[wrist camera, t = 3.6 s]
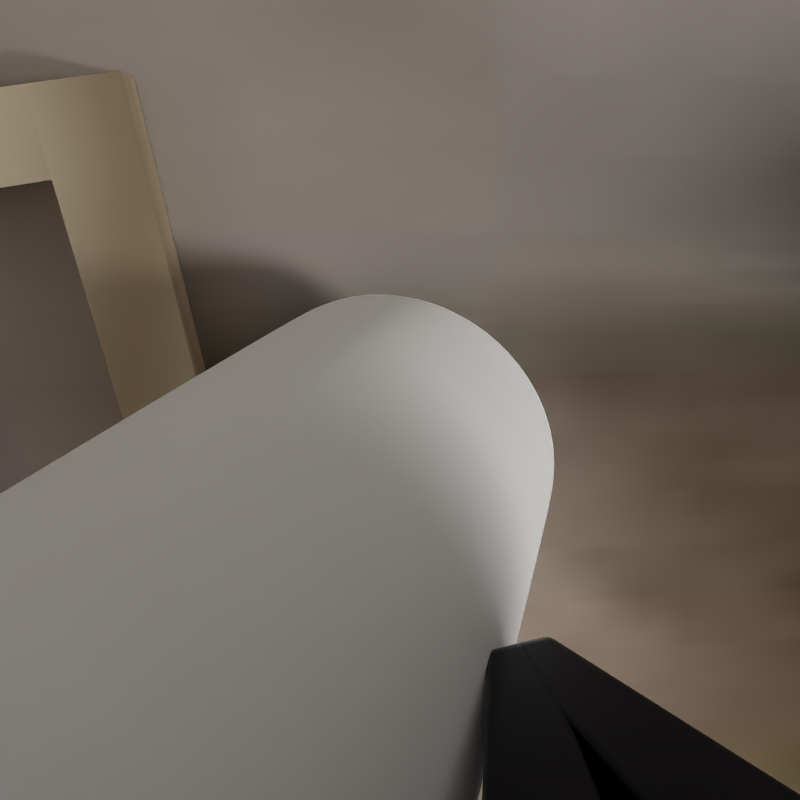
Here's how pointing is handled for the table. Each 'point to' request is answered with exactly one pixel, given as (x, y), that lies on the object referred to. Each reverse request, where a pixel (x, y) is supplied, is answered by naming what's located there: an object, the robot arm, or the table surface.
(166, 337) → the cradle
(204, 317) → the table surface
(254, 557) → the can
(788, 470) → the table surface
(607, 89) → the table surface
